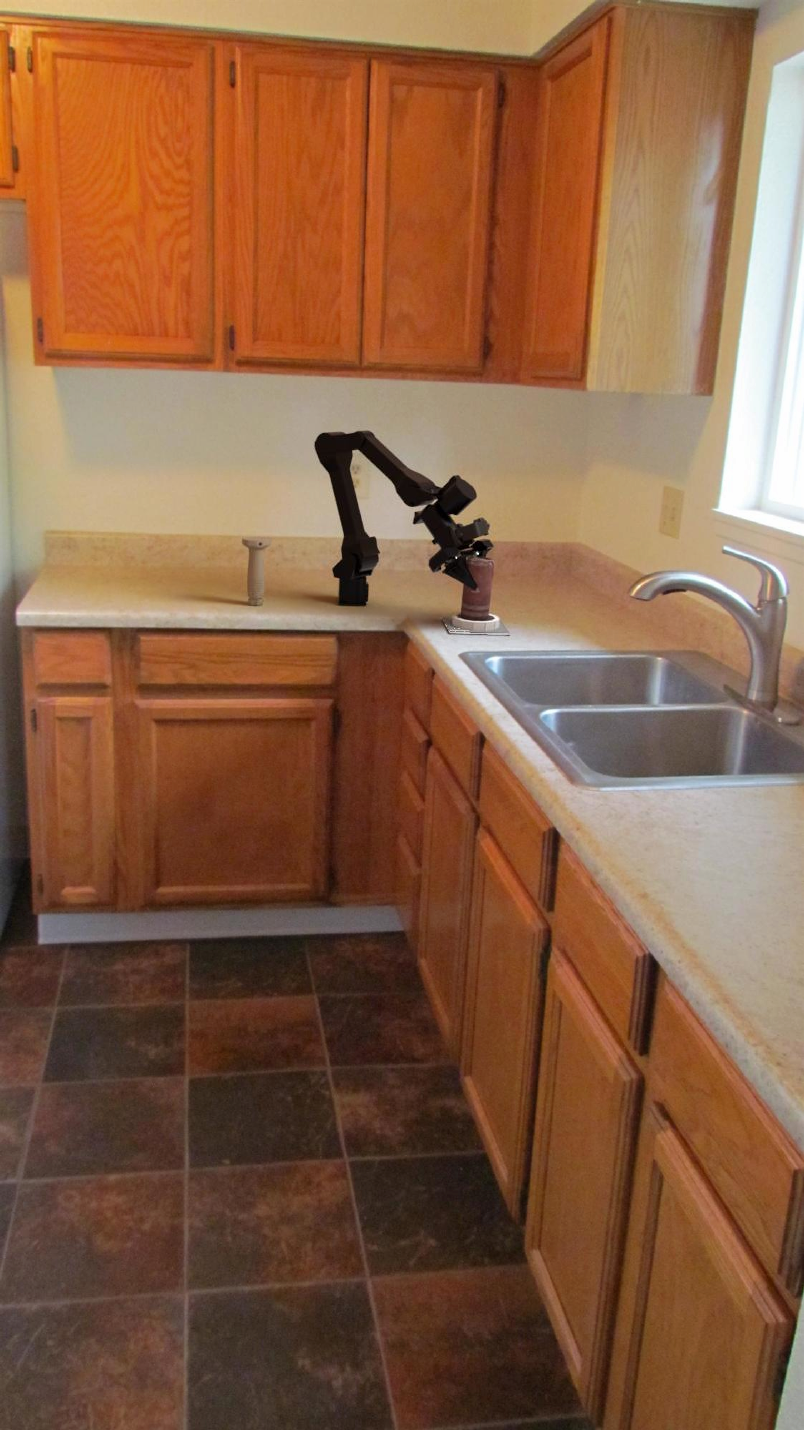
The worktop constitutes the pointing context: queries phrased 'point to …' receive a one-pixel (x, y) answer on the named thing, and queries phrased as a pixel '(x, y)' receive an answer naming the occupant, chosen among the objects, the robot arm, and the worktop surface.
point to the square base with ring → (475, 624)
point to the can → (478, 589)
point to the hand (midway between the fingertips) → (482, 587)
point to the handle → (256, 568)
